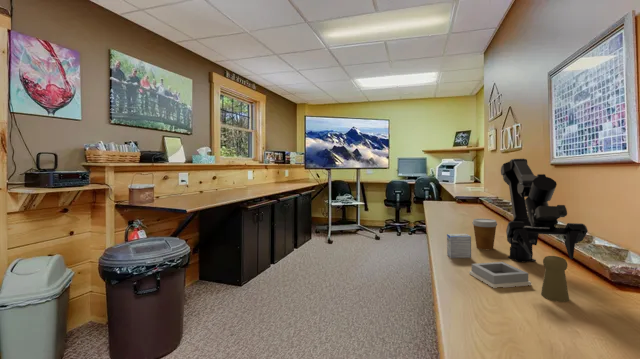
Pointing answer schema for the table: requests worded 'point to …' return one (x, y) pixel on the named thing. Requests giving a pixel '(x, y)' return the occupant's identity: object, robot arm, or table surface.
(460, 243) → the medicine box
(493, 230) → the disposable coffee cup
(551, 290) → the cork
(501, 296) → the table surface
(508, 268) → the socket plate
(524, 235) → the robot arm
